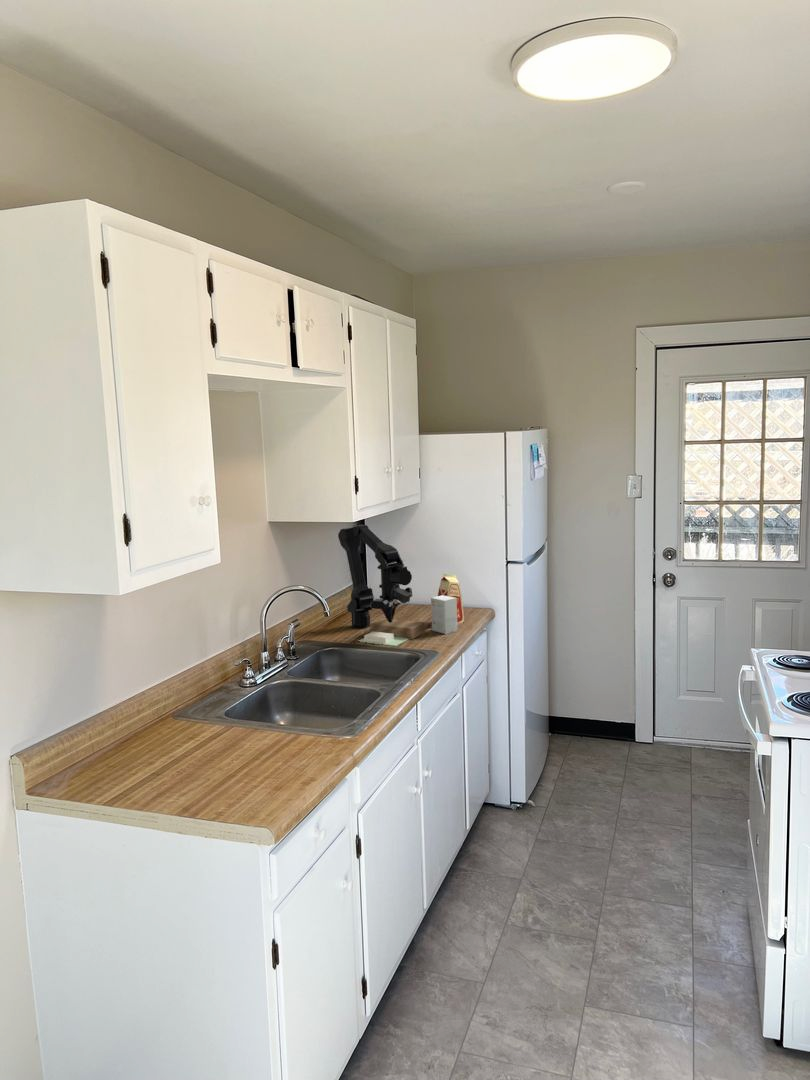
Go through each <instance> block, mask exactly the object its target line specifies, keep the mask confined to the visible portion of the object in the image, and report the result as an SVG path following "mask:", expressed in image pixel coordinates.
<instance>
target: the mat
mask: <svg viewBox="0 0 810 1080" xmlns="http://www.w3.org/2000/svg"><path fill="white" fill-rule="evenodd" d="M408 640H410V639H409V638H401V637H394V639H393V640H391V641H389V642H387V643H380V642H371V641H364V637H363V638H361V639H359V640H358V641H360V642H359V643H365V642H367V644H373V643H374V644H375V645H382V644H383V646H390V647H391V646H392V647H397V646H400V645H401V644H403V643H405V642H406V641H408Z"/></svg>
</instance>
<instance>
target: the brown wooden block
mask: <svg viewBox="0 0 810 1080" xmlns="http://www.w3.org/2000/svg"><path fill="white" fill-rule="evenodd" d="M369 631H370V632H382V633H391V634H394V637H401V638H409V640H413V639H415V638H417V637H419V636H421V635H423V634H425V622H423V621H417V620H415V621H413V620H405V619H396V618H393V621H392V622H391V623H389V622H388V620H387V618H386V617H383V618H381V619H379V620H376V621H374V622H370V626H369ZM370 632H369V633H370Z"/></svg>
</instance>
